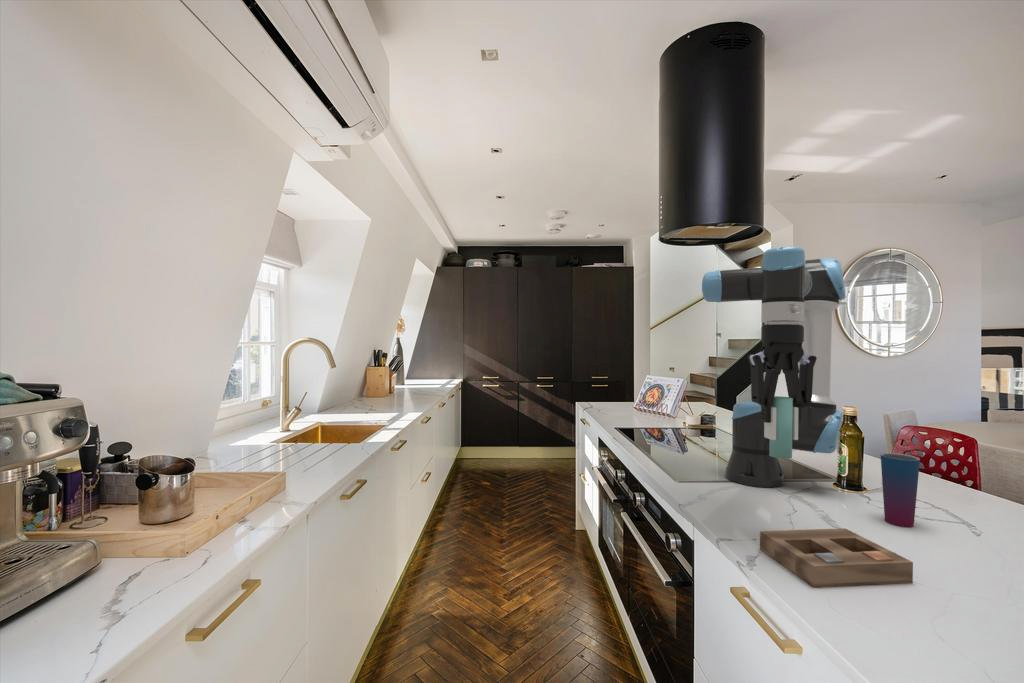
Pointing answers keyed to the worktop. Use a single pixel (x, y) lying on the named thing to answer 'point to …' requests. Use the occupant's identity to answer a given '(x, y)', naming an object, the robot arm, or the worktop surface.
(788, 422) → the plug
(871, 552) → the socket board
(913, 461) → the cup
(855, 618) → the worktop surface
